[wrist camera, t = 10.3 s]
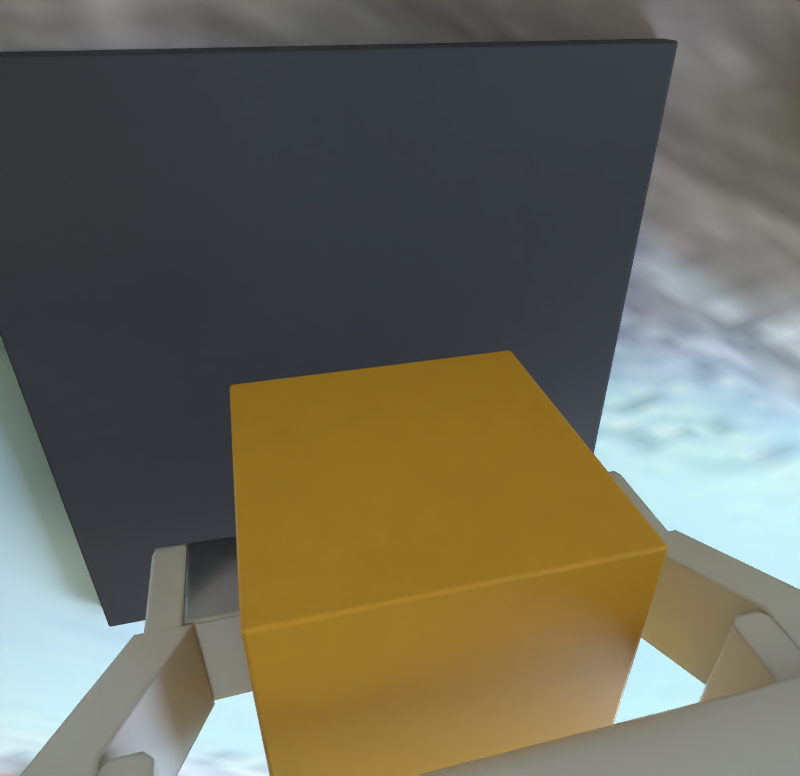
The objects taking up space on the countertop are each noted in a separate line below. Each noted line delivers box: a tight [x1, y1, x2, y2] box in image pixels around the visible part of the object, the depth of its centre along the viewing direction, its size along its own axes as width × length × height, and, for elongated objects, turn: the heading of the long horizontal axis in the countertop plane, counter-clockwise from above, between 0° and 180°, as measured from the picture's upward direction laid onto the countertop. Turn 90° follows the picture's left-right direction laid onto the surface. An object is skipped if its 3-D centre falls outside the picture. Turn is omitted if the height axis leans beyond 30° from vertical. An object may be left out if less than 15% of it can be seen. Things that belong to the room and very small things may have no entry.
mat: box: [0, 39, 677, 626], centre depth 16 cm, size 14×14×1 cm
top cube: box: [230, 351, 668, 776], centre depth 11 cm, size 5×5×5 cm
